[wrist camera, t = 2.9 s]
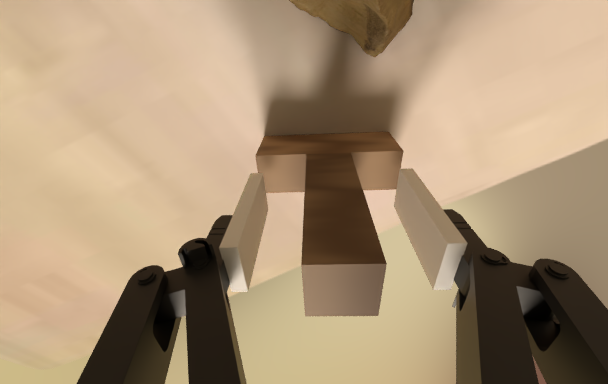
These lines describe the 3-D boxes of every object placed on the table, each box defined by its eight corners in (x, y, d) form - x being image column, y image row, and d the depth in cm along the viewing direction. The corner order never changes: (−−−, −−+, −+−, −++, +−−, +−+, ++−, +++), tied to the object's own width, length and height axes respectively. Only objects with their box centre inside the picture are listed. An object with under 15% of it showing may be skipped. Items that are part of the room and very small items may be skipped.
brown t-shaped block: (268, 169, 23) (222, 316, 11) (264, 136, 22) (205, 266, 10) (384, 165, 23) (465, 315, 11) (388, 131, 21) (488, 262, 9)
